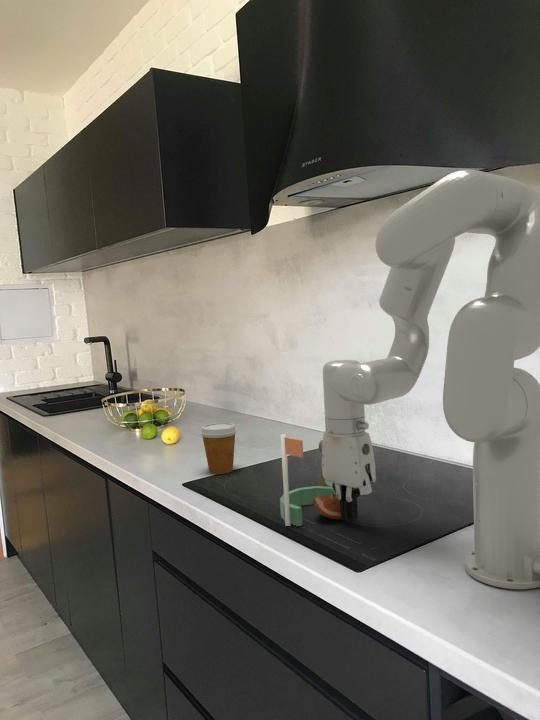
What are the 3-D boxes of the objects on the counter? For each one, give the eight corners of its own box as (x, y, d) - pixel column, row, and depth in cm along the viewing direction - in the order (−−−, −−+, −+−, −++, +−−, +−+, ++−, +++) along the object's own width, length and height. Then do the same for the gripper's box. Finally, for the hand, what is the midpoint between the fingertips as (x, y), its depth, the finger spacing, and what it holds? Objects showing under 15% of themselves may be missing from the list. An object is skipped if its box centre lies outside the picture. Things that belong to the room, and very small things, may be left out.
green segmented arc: (358, 510, 120) (355, 423, 119) (304, 533, 110) (299, 438, 108) (315, 497, 130) (312, 417, 128) (261, 517, 119) (256, 430, 117)
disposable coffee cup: (232, 464, 161) (230, 420, 160) (243, 472, 152) (241, 427, 151) (199, 469, 158) (196, 425, 157) (208, 478, 149) (205, 431, 148)
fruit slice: (320, 526, 113) (319, 501, 112) (307, 515, 119) (306, 491, 119) (359, 519, 115) (359, 495, 115) (345, 508, 122) (344, 485, 121)
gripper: (389, 426, 108) (393, 522, 110) (329, 417, 119) (333, 505, 121) (363, 434, 103) (367, 534, 105) (303, 424, 114) (307, 515, 116)
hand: (349, 518), depth 113 cm, fingers closed
